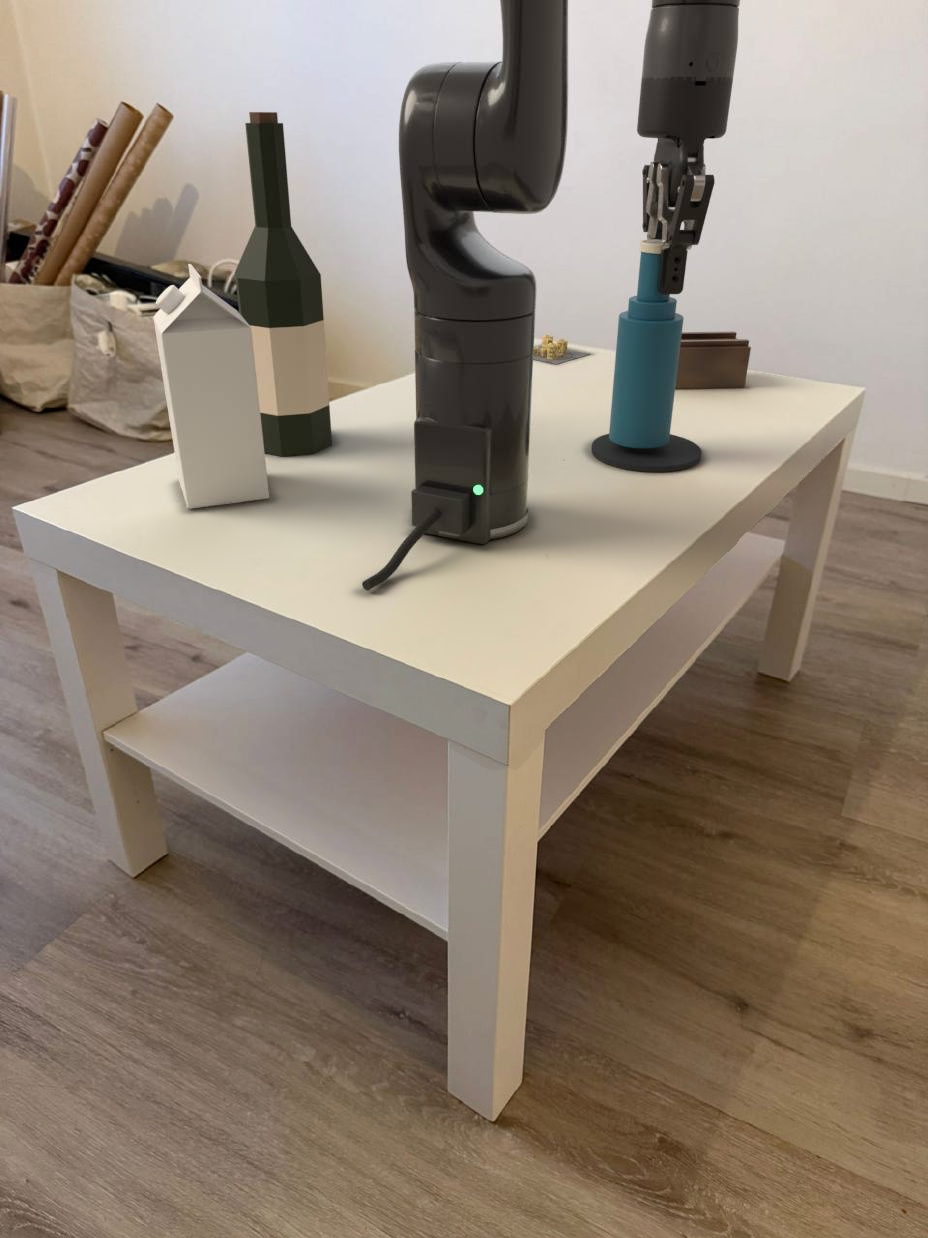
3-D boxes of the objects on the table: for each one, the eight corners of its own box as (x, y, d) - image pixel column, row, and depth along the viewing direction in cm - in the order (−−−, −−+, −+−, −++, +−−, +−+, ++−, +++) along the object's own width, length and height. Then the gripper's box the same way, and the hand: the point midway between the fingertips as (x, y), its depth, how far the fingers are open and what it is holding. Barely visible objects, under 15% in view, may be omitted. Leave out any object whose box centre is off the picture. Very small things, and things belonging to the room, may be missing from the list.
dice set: (546, 347, 131) (546, 334, 130) (574, 353, 128) (575, 339, 127) (524, 353, 128) (524, 339, 127) (552, 360, 125) (553, 345, 124)
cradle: (725, 373, 120) (732, 329, 117) (744, 387, 114) (752, 342, 111) (651, 374, 119) (656, 330, 116) (667, 389, 113) (672, 343, 110)
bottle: (678, 446, 89) (619, 450, 88) (656, 427, 94) (601, 430, 93) (703, 245, 80) (638, 247, 79) (677, 236, 85) (616, 238, 84)
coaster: (687, 479, 86) (688, 473, 85) (577, 461, 90) (577, 456, 89) (711, 444, 94) (711, 439, 94) (609, 430, 98) (609, 424, 98)
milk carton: (256, 473, 86) (232, 261, 77) (270, 500, 80) (246, 274, 71) (179, 482, 84) (144, 265, 75) (187, 511, 78) (151, 279, 69)
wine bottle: (340, 431, 97) (321, 111, 82) (322, 458, 90) (297, 112, 75) (265, 428, 98) (231, 111, 83) (241, 454, 91) (200, 111, 76)
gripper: (622, 74, 81) (606, 277, 90) (667, 70, 69) (644, 305, 78) (704, 75, 82) (680, 276, 91) (762, 71, 70) (728, 304, 78)
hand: (663, 288), depth 84 cm, fingers closed on bottle, 3 cm apart
